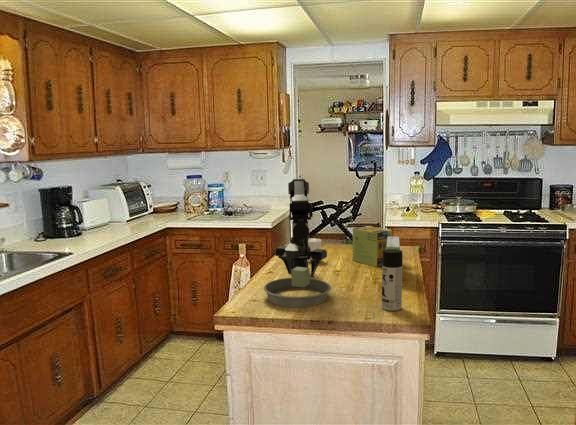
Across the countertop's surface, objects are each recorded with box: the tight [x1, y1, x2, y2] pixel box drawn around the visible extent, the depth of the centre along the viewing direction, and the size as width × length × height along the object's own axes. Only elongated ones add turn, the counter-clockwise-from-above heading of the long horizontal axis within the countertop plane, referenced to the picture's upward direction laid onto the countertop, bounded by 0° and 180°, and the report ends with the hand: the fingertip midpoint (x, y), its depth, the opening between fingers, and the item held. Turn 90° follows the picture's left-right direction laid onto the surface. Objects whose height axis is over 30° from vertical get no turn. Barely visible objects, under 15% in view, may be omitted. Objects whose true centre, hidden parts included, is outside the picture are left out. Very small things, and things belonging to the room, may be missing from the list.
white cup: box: [307, 237, 322, 263], centre depth 238 cm, size 8×8×10 cm
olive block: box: [290, 267, 311, 287], centre depth 187 cm, size 5×5×6 cm
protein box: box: [352, 225, 393, 267], centre depth 234 cm, size 10×15×16 cm
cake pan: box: [263, 277, 332, 308], centre depth 186 cm, size 25×25×4 cm
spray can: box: [381, 249, 403, 312], centre depth 171 cm, size 7×7×20 cm
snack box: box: [386, 236, 401, 250], centre depth 210 cm, size 21×6×15 cm, turn 168°
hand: (301, 275), depth 187 cm, fingers open, 9 cm apart
